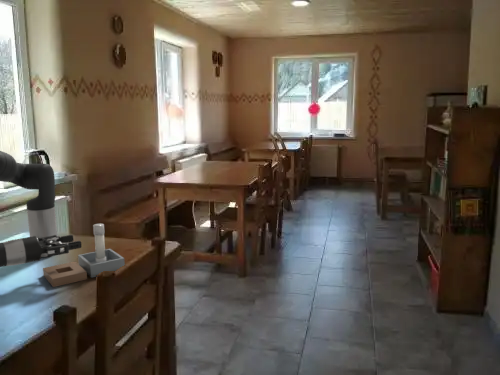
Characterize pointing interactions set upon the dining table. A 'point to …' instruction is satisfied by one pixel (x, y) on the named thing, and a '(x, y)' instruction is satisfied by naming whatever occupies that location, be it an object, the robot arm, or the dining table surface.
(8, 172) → the robot arm
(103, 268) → the parts tray
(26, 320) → the dining table surface
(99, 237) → the fuse
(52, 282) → the block
